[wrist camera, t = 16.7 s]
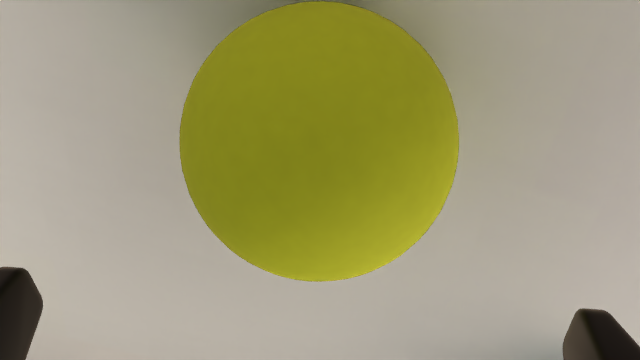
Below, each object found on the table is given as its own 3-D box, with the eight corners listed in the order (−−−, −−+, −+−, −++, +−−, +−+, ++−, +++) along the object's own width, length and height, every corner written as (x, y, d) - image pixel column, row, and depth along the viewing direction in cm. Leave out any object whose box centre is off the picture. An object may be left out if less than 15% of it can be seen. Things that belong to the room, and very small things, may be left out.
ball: (497, 81, 14) (544, 257, 10) (332, 196, 18) (309, 371, 13) (330, -101, 12) (289, 19, 8) (173, 69, 15) (77, 227, 11)
